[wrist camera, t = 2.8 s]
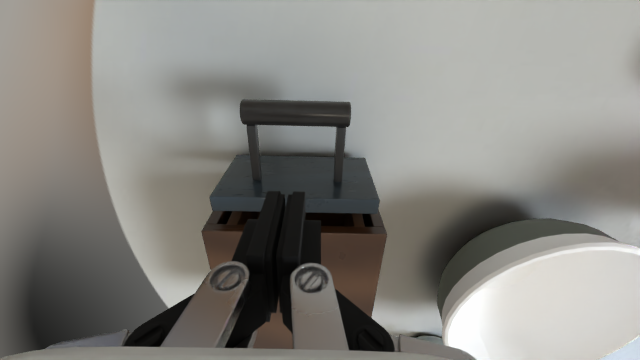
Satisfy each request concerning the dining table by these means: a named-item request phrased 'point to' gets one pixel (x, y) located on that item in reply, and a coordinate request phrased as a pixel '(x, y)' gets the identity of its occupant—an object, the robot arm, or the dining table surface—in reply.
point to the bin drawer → (297, 168)
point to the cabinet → (336, 255)
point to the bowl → (541, 293)
